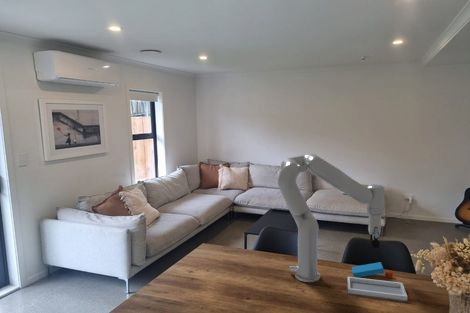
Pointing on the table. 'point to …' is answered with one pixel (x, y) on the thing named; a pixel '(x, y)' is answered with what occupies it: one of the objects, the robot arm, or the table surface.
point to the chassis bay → (376, 289)
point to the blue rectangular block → (370, 270)
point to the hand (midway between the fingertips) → (374, 244)
